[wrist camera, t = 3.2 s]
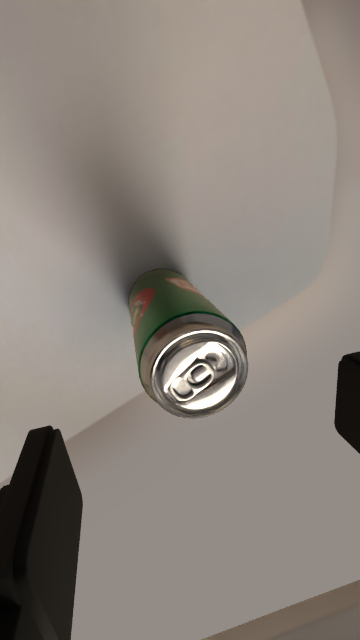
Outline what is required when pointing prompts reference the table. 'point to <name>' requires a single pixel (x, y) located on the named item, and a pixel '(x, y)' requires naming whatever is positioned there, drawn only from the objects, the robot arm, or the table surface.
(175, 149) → the table surface
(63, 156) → the table surface
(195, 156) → the table surface
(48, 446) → the robot arm
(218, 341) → the soda can
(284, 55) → the table surface
